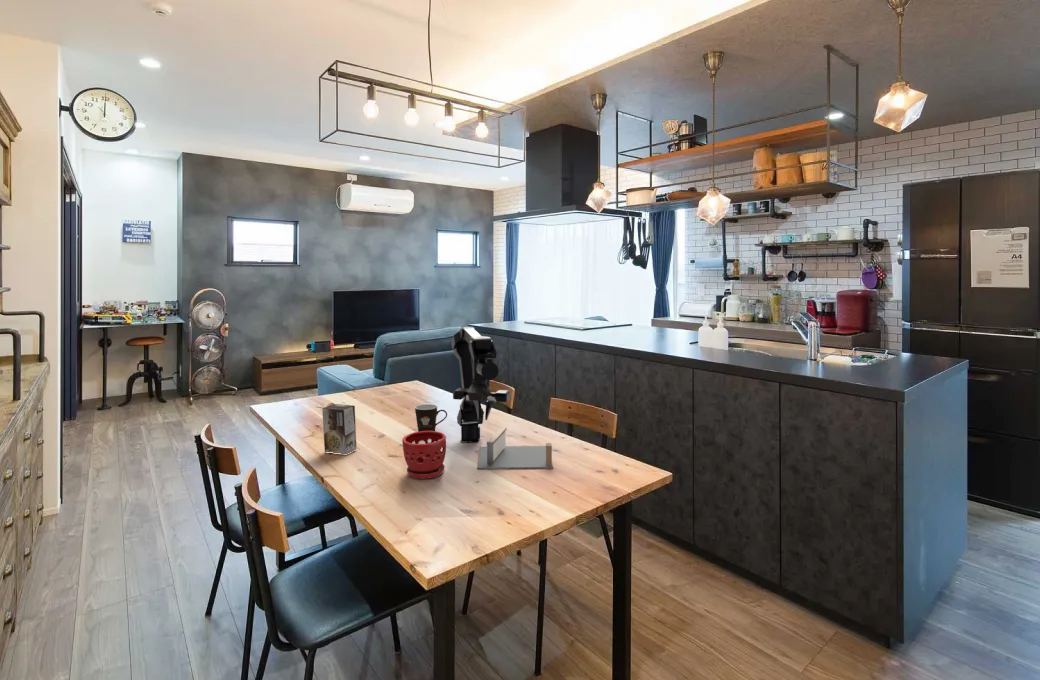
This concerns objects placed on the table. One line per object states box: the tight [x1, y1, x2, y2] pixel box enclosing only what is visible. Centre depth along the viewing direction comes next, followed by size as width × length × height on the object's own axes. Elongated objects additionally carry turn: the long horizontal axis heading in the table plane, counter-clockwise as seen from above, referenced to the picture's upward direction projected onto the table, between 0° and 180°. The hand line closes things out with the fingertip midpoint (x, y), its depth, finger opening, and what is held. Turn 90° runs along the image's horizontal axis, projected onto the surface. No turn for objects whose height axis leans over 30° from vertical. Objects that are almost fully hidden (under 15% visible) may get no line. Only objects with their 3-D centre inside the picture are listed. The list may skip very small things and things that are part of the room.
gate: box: [486, 426, 508, 464], centre depth 185 cm, size 18×2×7 cm, turn 167°
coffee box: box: [321, 403, 357, 454], centre depth 191 cm, size 9×6×16 cm
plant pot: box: [402, 430, 447, 480], centre depth 170 cm, size 13×13×12 cm
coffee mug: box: [414, 403, 448, 432], centre depth 214 cm, size 12×9×10 cm
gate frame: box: [477, 442, 554, 470], centre depth 185 cm, size 24×21×7 cm
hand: (481, 419), depth 188 cm, fingers open, 3 cm apart
